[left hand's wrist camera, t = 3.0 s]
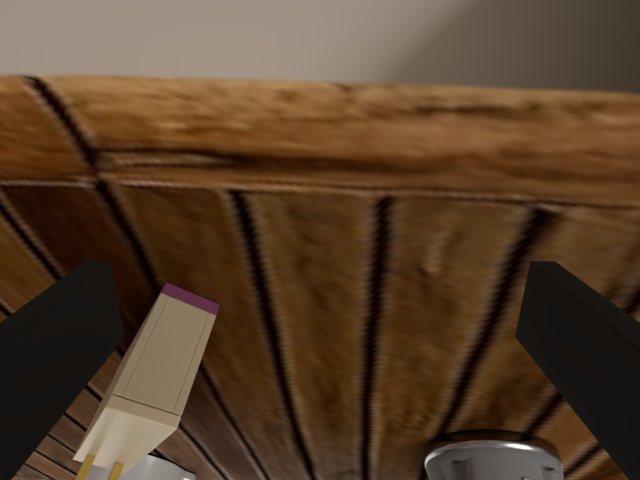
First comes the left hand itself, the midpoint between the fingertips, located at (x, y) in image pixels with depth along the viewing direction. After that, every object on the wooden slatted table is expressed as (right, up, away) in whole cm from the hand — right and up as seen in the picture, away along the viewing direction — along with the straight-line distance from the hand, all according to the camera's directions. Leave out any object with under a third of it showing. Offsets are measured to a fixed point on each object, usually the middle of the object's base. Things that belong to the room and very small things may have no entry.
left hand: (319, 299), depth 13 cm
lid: (-15, -13, +17) cm, 26 cm away
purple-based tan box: (-14, -6, +23) cm, 28 cm away
